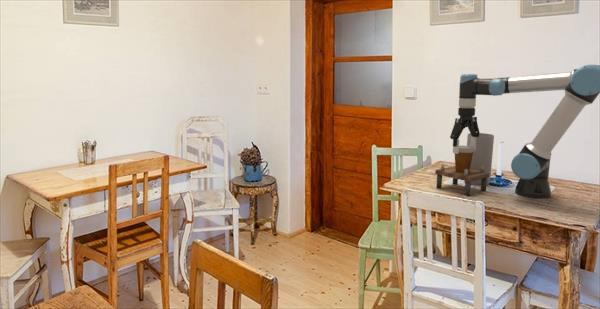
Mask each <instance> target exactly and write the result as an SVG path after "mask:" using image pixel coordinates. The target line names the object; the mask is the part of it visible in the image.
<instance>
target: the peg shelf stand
mask: <svg viewBox="0 0 600 309" xmlns="http://www.w3.org/2000/svg"><path fill="white" fill-rule="evenodd" d="M434 172H435V175H436V186H435V187H436V189H437V190H439V189H441V190H442V184H443V177H447V178H450V179H452V185H454V186H457V185H458V182H459V181H458V180H460V181H464V183H465V184H464V186H465V187H464V196H466V197H469V196H471V187H472V186H471V181H475V180H479V179H482V181H481V186H480V192H487V186H488V185H487V177H489V173H487V172H484V166H481V169H480V171H478V170H473V169H470V171H469V172H468V169H465V170H464V173H461V172H456V170H455V165H454V166H448V167H445V164H443V163H442V164H440V168H439V169H435V171H434ZM465 181H466V182H465Z"/></svg>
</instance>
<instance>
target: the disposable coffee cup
mask: <svg viewBox="0 0 600 309" xmlns="http://www.w3.org/2000/svg"><path fill="white" fill-rule="evenodd" d="M474 151H475V150H474V147H471V146H467V145H462V144H461V145H460V144H459V154H456V153H454V164H455V165H454V166H455V170H456V172H461V173H464V170H465V169H468V172H469V171H470V166H471V161H472V156H473V152H474Z"/></svg>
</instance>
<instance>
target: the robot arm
mask: <svg viewBox="0 0 600 309" xmlns="http://www.w3.org/2000/svg"><path fill="white" fill-rule="evenodd" d="M459 78H460V80H459V92H458V93H459V94H458V99H459V100H458V108H457V110H458V113H457V115H458V116H459V118H458V117H455V119H454V124H453V127H452V130H451V133H450V136H449V138H450V139H451V140H452V154H455V153H456V154H459V145H460V137H461V135H462V133H463V131H464V130H465V129H466V128H467V129H468V131H469V133H471V135H472V136H473V137H471V138H470V146H471V147H474V150H476V138H477V137H479V135H480V133H481V132H480V129H479V125H478V118H477V116H475V115H476V108H475V107H476V106H477V104H476V102H477V96H492V97H493V96H494V97H497V96H502V95H504V94H517V93H518V94H519V93H535V92H536V93H537V92H538V93H539V92H551V91H553V92H554V91H564V95H563V97H562V99H561V100H560V102H559V103H558V105H557V106H556V108H554V110H553V112H552V113H551V114H550V116H549V117H548V118H547V120H546V121H545V122H544V124H543V125H542V126H541V128H540V129H539V131H538V132H537V134H536V135H535V136H534V138H533V139H532V140H531V142H527V143H525V144H524V145H523V146H522V148H521V150H520V151H519V153H518V154H516V155H515V156H514V157H512V158H513V159H512V160H511V163H510V167H511V171H512V173H513V174H514V175H515V176H516V177H517V178H519V179H518V182H517V183H516V186H515V190H514V193H515V194H516V195H517V196H521V197H525V198H530V199H549V198H551V196H552V190H551V185H550V182H549V177H550V176H549V175H550V174H549V173H550V164H551V159H552V151H553V150H554V148H555V147H556V146H557V144H558V143H559V141H560V140H561V139H562V137H563V136H564V135H565V133H566V132H567V131H568V130H569V128H570V127H571V125H572V124H573V122H575V120H576V119H577V117H578V116H579V114H580V113H581V112H582V110H583V109H584V108H585V107H586V106H587V105H593V102H595V100H596V99H597V98H598V96H599V95H600V65H598V64H585V65H583V66H580V67H579V68H574V69H572V71H568V72H567V71H566V72H554V73H543V74H531V75H519V76H508V77H507V76H506V77H497V78H496V77H494V78H479V77H478V73H477V74H475V73H462V74H461V75H460V77H459Z"/></svg>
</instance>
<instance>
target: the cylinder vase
mask: <svg viewBox="0 0 600 309" xmlns="http://www.w3.org/2000/svg"><path fill="white" fill-rule="evenodd" d="M471 137H473V136H472V135H471V133H470V132H469V133H467V137H466V138H467V139H466V146H470V138H471ZM494 139H495V135H494V134H491V133H485V132H484V133H482V132H480V135H479V137H477V138H476V150H475V151H474V152H473V156H472V161H471V166H470V169H473V170H478V171H480V169H481V166H484V172H487V173H489V177H487V186H489V185H490V184H489V182H490V183H491V179H492V176H491V175H492V165H493V164H492V163H493V153H494V142H495V140H494ZM481 181H482V179H479V180H475V181H471V185H472V186H478V185H479V186H480V187H481ZM465 182H466V181H464V183H465ZM479 186H478V187H479Z"/></svg>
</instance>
